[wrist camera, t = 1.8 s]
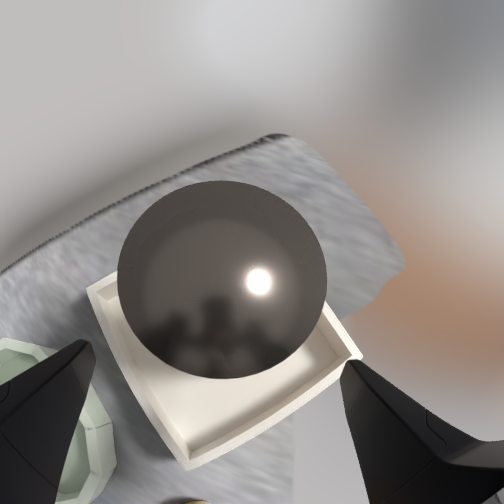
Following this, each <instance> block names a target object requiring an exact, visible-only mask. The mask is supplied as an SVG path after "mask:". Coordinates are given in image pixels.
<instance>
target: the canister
mask: <svg viewBox="0 0 504 504" xmlns="http://www.w3.org/2000/svg"><path fill="white" fill-rule="evenodd" d="M117 288H118V296H119V300H120V305H121V308H122V311H123V313H124V316H125V318H126V321H127V322H128V324H129V326H130V328H131V329H132V331H133V333H134V334H135V335H136V337H137V338H138V339H139V341H140V342H141V343H142V344H143V345H144V346H145V347H146V348H147V349H148V350H149V351H150V352H151V353H152V354H153V355H155V356H156V357H157V358H159V359H160V360H161V361H163V362H164V363H166V364H168V365H170V366H172V367H173V368H175V369H177V370H179V371H182V372H185V373H188V374H191V375H194V376H199V377H204V378H209V379H235V378H243V377H247V376H251V375H255V374H258V373H261V372H263V371H266V370H268V369H270V368H272V367H274V366H276V365H277V364H279V363H281V362H283V361H284V360H285V359H287V358H288V357H289V356H291V355H292V354H293V353H294V352H296V350H297V349H298V348H299V347H300V346H301V345H302V344H303V343H304V342H305V341H306V339H307V338H308V337H309V335H310V334H311V332H312V331H313V330H314V328H315V326H316V324H317V322H318V320H319V318H320V315H321V312H322V309H323V306H324V302H325V297H326V291H327V272H326V264H325V260H324V255H323V252H322V249H321V247H320V244H319V242H318V240H317V238H316V236H315V234H314V232H313V230H312V229H311V228H310V226H309V225H308V223H307V222H306V221H305V219H304V218H303V217H302V216H301V215H300V214H299V213H298V212H297V211H296V210H295V209H294V208H293V207H292V206H291V205H289V204H288V203H287V202H285V201H284V200H282V199H281V198H280V197H278V196H276V195H274V194H272V193H271V192H269V191H266V190H264V189H261V188H259V187H256V186H253V185H249V184H246V183H240V182H234V181H208V182H201V183H196V184H192V185H189V186H185V187H183V188H180V189H178V190H175V191H173V192H171V193H170V194H168V195H166V196H164V197H163V198H161V199H160V200H158V201H157V202H155V203H154V204H153V205H152V206H151V207H149V208H148V209H147V210H146V211H145V212H144V213H143V214H142V215H141V217H140V218H139V219H138V220H137V221H136V223H135V224H134V226H133V227H132V229H131V230H130V232H129V234H128V236H127V238H126V240H125V242H124V244H123V247H122V250H121V253H120V257H119V262H118V268H117Z"/></svg>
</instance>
